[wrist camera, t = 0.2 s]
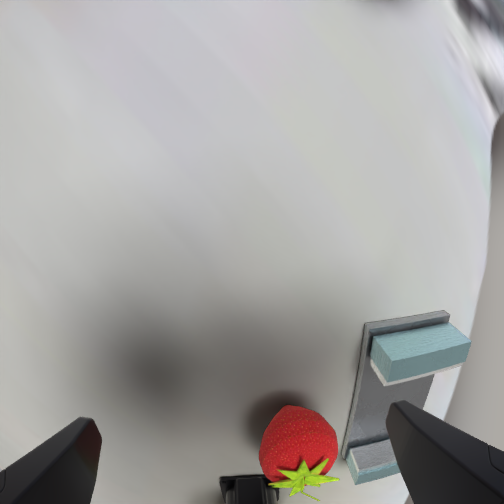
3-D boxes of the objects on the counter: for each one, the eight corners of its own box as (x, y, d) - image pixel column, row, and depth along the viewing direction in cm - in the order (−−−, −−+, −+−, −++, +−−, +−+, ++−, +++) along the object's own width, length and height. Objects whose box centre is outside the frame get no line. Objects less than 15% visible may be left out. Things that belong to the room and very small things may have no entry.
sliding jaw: (442, 346, 23) (463, 367, 19) (369, 362, 23) (385, 388, 19) (448, 322, 22) (471, 341, 19) (373, 336, 22) (392, 361, 18)
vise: (406, 436, 28) (422, 464, 23) (341, 452, 27) (352, 485, 23) (444, 310, 23) (475, 335, 19) (364, 323, 23) (390, 355, 18)
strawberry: (329, 374, 24) (367, 465, 14) (312, 433, 26) (336, 516, 16) (258, 375, 24) (270, 475, 14) (251, 435, 26) (258, 523, 16)
